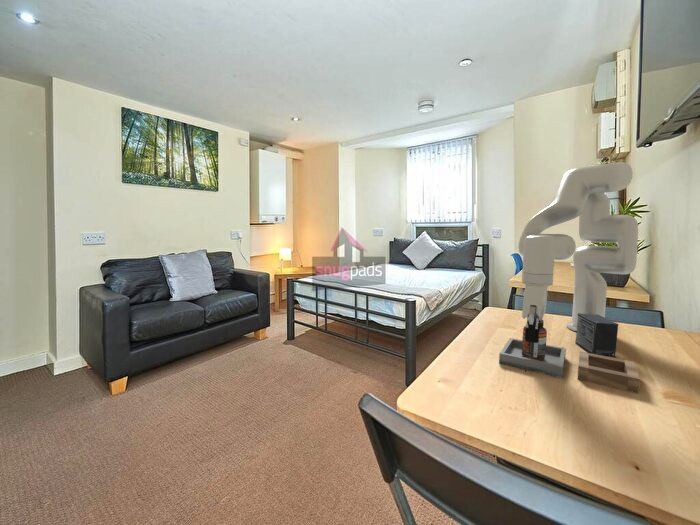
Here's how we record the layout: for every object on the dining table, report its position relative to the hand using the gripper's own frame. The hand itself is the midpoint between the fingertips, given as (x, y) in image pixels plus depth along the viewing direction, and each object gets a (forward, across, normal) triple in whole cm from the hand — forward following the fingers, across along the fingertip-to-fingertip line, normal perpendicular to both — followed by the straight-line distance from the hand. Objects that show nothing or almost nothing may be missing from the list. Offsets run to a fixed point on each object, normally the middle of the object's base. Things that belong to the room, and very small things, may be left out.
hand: (534, 336), depth 89 cm
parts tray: (+7, 0, 0) cm, 7 cm away
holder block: (+7, 0, +16) cm, 18 cm away
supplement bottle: (+6, 0, 0) cm, 6 cm away
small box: (+8, -20, +14) cm, 26 cm away
